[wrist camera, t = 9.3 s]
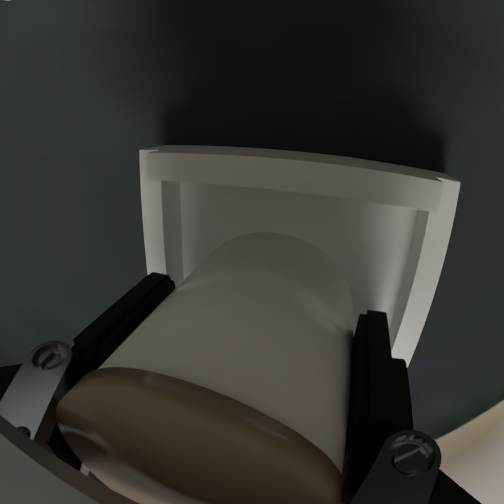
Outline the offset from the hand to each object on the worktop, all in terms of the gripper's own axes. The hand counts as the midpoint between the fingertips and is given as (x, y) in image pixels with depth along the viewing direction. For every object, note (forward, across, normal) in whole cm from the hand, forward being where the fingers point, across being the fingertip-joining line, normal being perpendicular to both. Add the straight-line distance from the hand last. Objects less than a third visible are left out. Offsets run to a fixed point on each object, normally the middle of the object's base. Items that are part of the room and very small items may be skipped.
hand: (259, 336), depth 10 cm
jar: (+2, 0, 0) cm, 2 cm away
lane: (+5, 0, +6) cm, 8 cm away
